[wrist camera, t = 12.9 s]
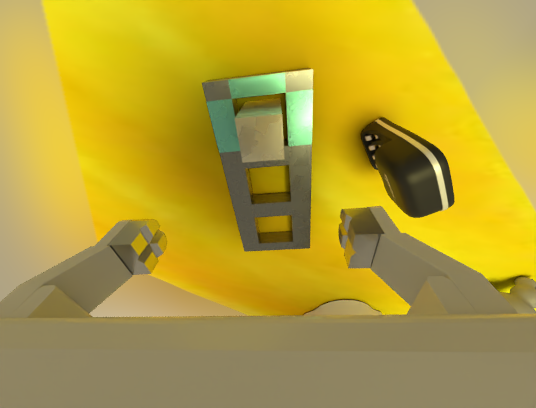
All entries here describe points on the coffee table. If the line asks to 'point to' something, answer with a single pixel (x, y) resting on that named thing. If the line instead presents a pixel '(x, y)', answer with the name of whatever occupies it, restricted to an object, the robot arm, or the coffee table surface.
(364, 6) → the coffee table surface
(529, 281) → the toy rhinoceros
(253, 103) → the steel block
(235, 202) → the grey slotted board
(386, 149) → the battery charger
